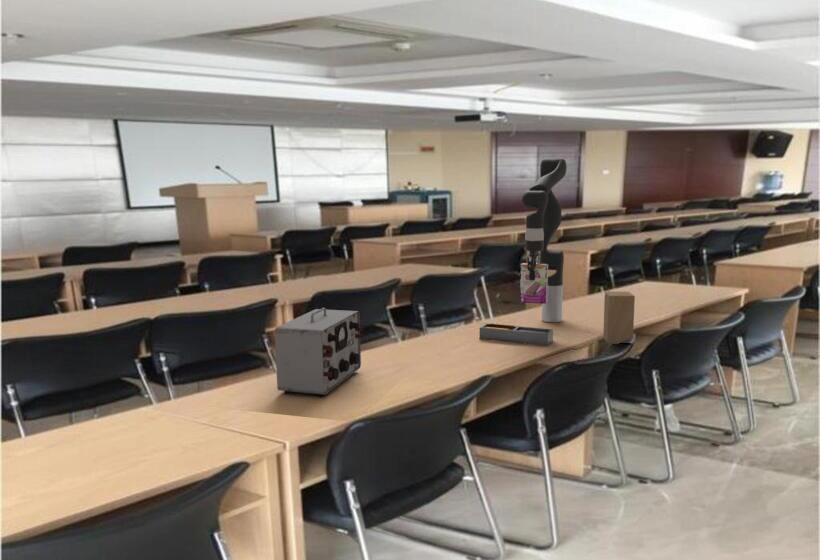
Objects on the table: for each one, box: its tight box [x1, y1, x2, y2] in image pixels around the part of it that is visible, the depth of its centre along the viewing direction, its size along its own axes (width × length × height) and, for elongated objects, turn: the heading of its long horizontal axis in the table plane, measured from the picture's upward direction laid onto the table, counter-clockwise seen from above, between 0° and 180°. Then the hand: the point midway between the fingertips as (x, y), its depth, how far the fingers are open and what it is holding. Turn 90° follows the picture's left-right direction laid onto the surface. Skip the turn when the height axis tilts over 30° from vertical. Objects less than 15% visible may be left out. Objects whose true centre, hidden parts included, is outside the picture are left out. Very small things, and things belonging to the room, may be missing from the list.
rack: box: [479, 322, 554, 347], centre depth 277 cm, size 8×29×5 cm, turn 65°
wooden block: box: [602, 291, 636, 345], centre depth 272 cm, size 10×10×20 cm
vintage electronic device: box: [274, 307, 364, 398], centre depth 222 cm, size 32×18×25 cm, turn 163°
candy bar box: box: [519, 262, 549, 305], centre depth 280 cm, size 11×5×16 cm, turn 72°
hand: (533, 279), depth 280 cm, fingers closed on candy bar box, 5 cm apart
